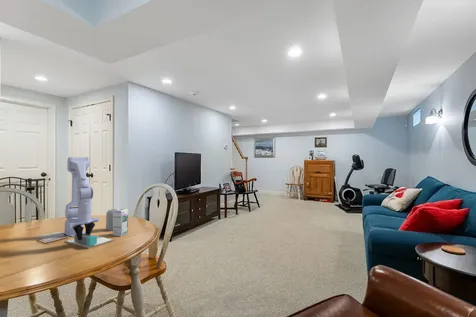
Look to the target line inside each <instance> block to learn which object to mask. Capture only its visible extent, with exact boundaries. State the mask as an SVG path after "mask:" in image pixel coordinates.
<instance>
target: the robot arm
mask: <svg viewBox="0 0 476 317" xmlns="http://www.w3.org/2000/svg"><path fill="white" fill-rule="evenodd" d="M89 167H90V158H89V157H88V156H86V157H81V156H77V157H76V156H68V157H67V172H70V173H71V174H70V175H71V201H70V202H68V203H67V204H66V205H65V210H64V211H65V212H64V215H65V219H66V220H65V221H64V232H63V233H62V235H64V234H66V235H65V236H69V237H71V238H72V237H73V238H74V235H75V234H76V235H77V238H78V240H82V233H84V234H88V235H92V234H91V233H92V231H93V230H94V227H95V226H96V223H98V222H99V221H100V217H94V218H93V217H92V199H93V198H94V190H93V189H94V188H93V186H92V185H90V179H89V177H87V170H88V169H89ZM84 228H85V230H84Z"/></svg>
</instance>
